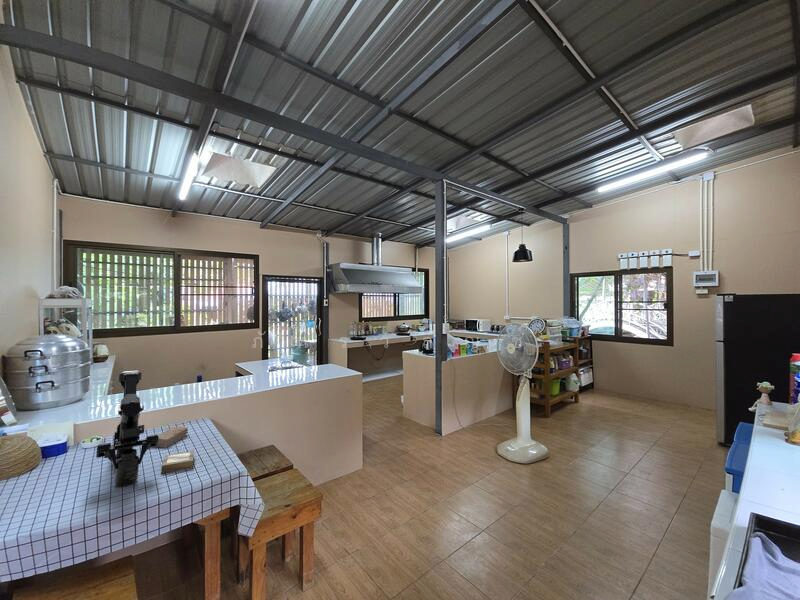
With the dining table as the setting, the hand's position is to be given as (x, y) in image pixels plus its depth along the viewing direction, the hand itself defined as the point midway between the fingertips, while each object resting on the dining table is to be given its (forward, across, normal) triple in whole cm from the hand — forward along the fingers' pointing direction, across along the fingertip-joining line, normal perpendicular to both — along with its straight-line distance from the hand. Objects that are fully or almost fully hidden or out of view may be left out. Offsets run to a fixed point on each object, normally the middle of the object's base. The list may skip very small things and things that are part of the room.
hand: (127, 466), depth 122 cm
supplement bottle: (+4, 0, +6) cm, 7 cm away
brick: (-23, +18, +34) cm, 45 cm away
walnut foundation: (0, +18, +10) cm, 20 cm away
